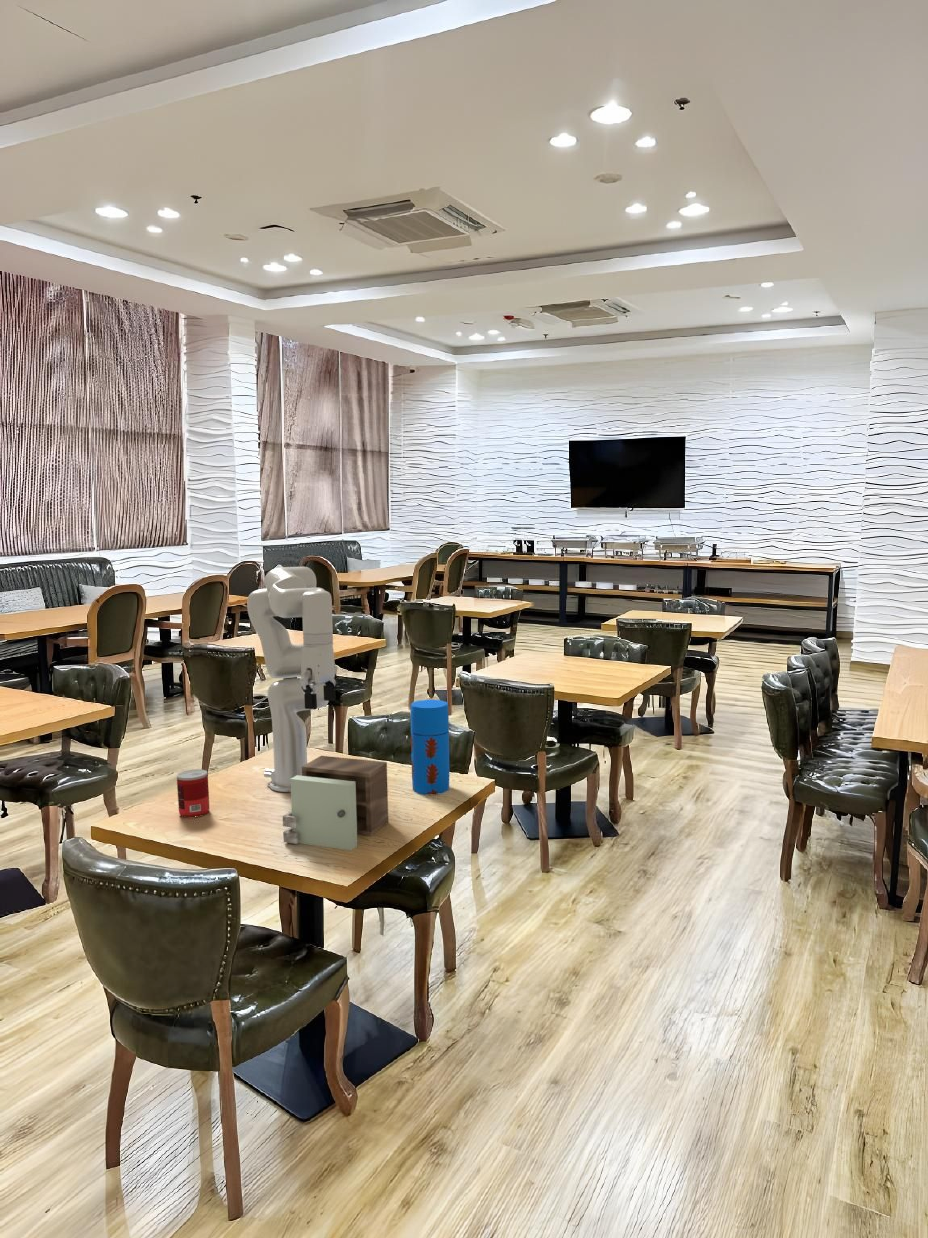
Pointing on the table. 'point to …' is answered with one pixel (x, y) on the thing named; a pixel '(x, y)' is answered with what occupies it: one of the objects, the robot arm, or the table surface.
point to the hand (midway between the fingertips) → (320, 704)
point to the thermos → (430, 746)
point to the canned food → (193, 792)
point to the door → (324, 811)
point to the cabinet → (368, 791)
